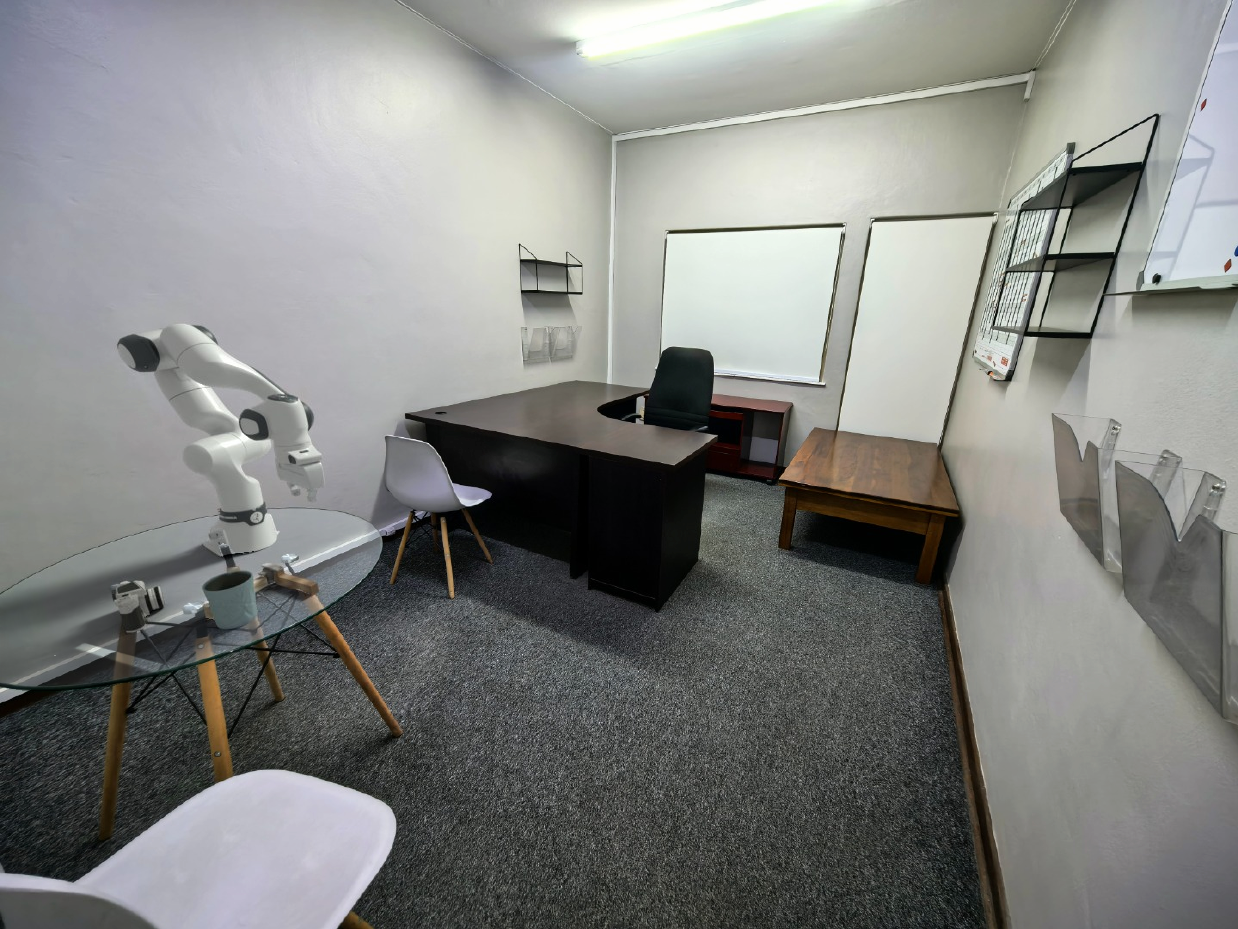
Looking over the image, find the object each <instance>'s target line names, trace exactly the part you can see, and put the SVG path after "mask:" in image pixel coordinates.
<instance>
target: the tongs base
mask: <svg viewBox="0 0 1238 929" xmlns="http://www.w3.org/2000/svg"><path fill="white" fill-rule="evenodd" d="M257 575H258V577H256V578H253V581H254V591H255V594H257V593H258V592H259V591H261V590H262V589H264V588H265V587H267V586H268V585H269V584H273V583H275V580H274V575H275V571H274V570H270V569H267V568H263V567H262V571H259V572H258V573H257ZM202 607H203V612H204V615H205V619H206V618H209V619H213V620H215V619H214V617H213V613H212V612H211V609H210V607H209V602H208V603H206V604H203V605H202ZM209 619H208V620H209Z"/></svg>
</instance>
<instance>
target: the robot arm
mask: <svg viewBox="0 0 1238 929" xmlns="http://www.w3.org/2000/svg"><path fill="white" fill-rule="evenodd" d="M116 346H117V350H118V354H119V357H120V358H121V360H122V361H123V362H124V364H126V365H127V366H128V368H130V369H131V370H132V371H133V370H134V371H136V372H138V373H153V376H154V378H155V380H156V383H157V385H158V387H159V388H160V391H161V392H162V394H163V395H164V397H165V398H166V400H167V401H168V403H169V404H170V405H171V407H172V408H173V409H174V411H175V412H176V414H177V415H178V416H179V418H180V420H182V422H183V423H184V424H185V425H186V426H188V427H190V428H194V429H197V430H200V431H203V432H205V433H206V434H208V435H209V436H207V437H203V438H200V439H198V440H196V441H194V442H192V443H190V444H188V445H186V446H185V447H184V449H183V452H182V459H183V460H182V461H183V462H184V464H185V466H186V467H187V468H188V469H189V470H190V471H192V472H194V473H196V474H199V475H202V476H203V477H204V478H206V479H207V480H208V481H209V482H210V483H211V485H212V486H213V488H214V491H215V493H216V495H217V499H218V502H219V507H220V508H217V509H216V511H217V513H219V514H218V515H219V516H218V517H219V518H218V520H217V521H216V522H215V523H214V524H213V525H211V527H210V528H209V533H208V535H207V536H208V539H206V540H204V541H203V542H202V546H203V547H205V549H208V550H209V551H211V552H213V554H216V556H219V557H221V552H220V549H219V547H218V546H219V545H221V544H222V543H224V544H227V546H229V547H230V548H231V549H232V550H233V552H249V553H253V552H252V551H254V552H256V551H260V550H263V549H266V548H268V547H270V546H272V545H274V543H275V542H276V541H277V539H278V534H279V533H280V530H277V528H276V525H275V521H274V519H273V516H272V514H270V513H268V508H267V505H266V502H265V501H264V498H263V493H262V489H261V484H260V482H259V480H258V479H256V478H255V477H253V476H250V475H247V474H245V472H244V470H243V468H242V466H243V465H245V464H247V463H251V462H254V461H256V460H259V459H261V458H262V457H263V456H265V455H266V454H268V453H269V452H270V450H271V449H272V447H273V450H274V455H275V458H274V459H275V461H274V462H275V470H276V473H277V475H276V476H277V477H278V479H279V480H281V481H284V482H286V484H287V487H288V489H289V490H290V492H291V496H293V497H298V496H301V489H300V488H303V489H306V492H307V496H306V499H307V501H308V503H311V504H312V503H316V502H317V501H318V498H317V495H318V490H319V489H322V488H324V487H325V484H326V481H325V480H326V479H325V473H324V467H323V464H322V463H321V461H323V454H322V453H321V452H320V451H318V450H317V448H316V447H315V446H314V445H313V443H312V439H311V436H310V434H309V431H310V430H311V428H312V427H313V425H314V421H315V414H314V413H313V410H312V409H311V407H310V406H308V404H306V403H305V402H304V401H303V400H301V399H300V398H299V397H297V396H295V395H293V394H289V393H288V392H287V391H286V390H285V389H283V388H282V387H280V386H279V385H278V384H276V383H275V381H273V380H271V378H269V377H268V376H266V375H265V374H264V373H262V372H261V371H259V370H258V369H256V368H255V367H253V366H251V365H250V364H249V365H248V364H246V363H244V362H242V361H240V360H238V359H237V358H235V357H233V356H232V355H230V354H229V353H227V352H226V351H225V350H223V348H222V347H220V345H219V343H218V341H217V338H216V337H215V335H214V334H213V333H212V331H210V330H209V329H208V328H207V327H205V326H203V325H198V324H197V325H196V324H189V323H182V322H181V323H173V324H170V325H167V326H166V327H163V328H159V329H153V330H149V331H145V332H144V331H143V332H140V333H137V334H136V333H132V334H128V335H126V336H123V337H121V338H119V339H118V342H117V344H116ZM213 388H218V389H219V388H220V389H221V388H223V389H233V390H240V391H245V392H248V393H251V394H252V395H253V394H254V395H256V396H257V397H258V398H260V399H261V400H262V402H261V403H259V404H257V405H254V406H251V407H247V408H244V409H243V410H242V411H241V413H240V415H239V417H237V416H236V415H234V414H233V413H232V412H231V411H230V410H229V409H228V408H227V406H226V405H225V404H224V403H223V402H222V400H221V399H220V398H219V396H218V395H217V393H216V392H215V391H214V389H213ZM271 440H272V441H271ZM299 487H300V488H299Z"/></svg>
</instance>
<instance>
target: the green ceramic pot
mask: <svg viewBox="0 0 1238 929" xmlns="http://www.w3.org/2000/svg"><path fill="white" fill-rule="evenodd" d="M253 580H254V574H253V572H251V571H250V570H243V569H242V570H240V569H239V570H232V571H227V572H224V573H221V574H217V575H215V576H212V577H211V578H210V579H208V580H207V581H205V582H204V583H203V584H202V586H201V587H202V588H201V589H202V591H203V593H204V596H205V598H206V600H207V602H208V603H209V607H210V609H211V612H212V613H213V617H214V619H213V620H214V623H215V624H216V626H217V628H218V629H221V630H231V629H237V628H240V627H242V626H245V625H247V624H249V623H252V621H253V620H255V619H256V617H257V616H258V613H259V611H258V604H257V603H256V602H257V601H256V600H257V599H256V598H257V597H256V593H255V591H254V581H253Z"/></svg>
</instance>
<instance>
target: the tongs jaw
mask: <svg viewBox="0 0 1238 929" xmlns="http://www.w3.org/2000/svg"><path fill="white" fill-rule="evenodd" d="M261 568H262V569H263V568H267V569H270V570H274V571H275V575H274V580H275V582H274V584H276V585H279V586H281V587H284V588H287V589H290V590H293V589H300V590H303V591H304V592H306V593H309V594H310V595H309V596H311V595H312V596H311V597H314V596H315V595H317V594H318V593H319V592H320V591H319V585H318V582H315V581H312V580H309V579H306V578H302V577H299V576H295V575H292V574H290V573H289V574H288V573H285V568H284V566H281V565H277V564H274V563H270V562H265V563H263V564H261Z"/></svg>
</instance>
